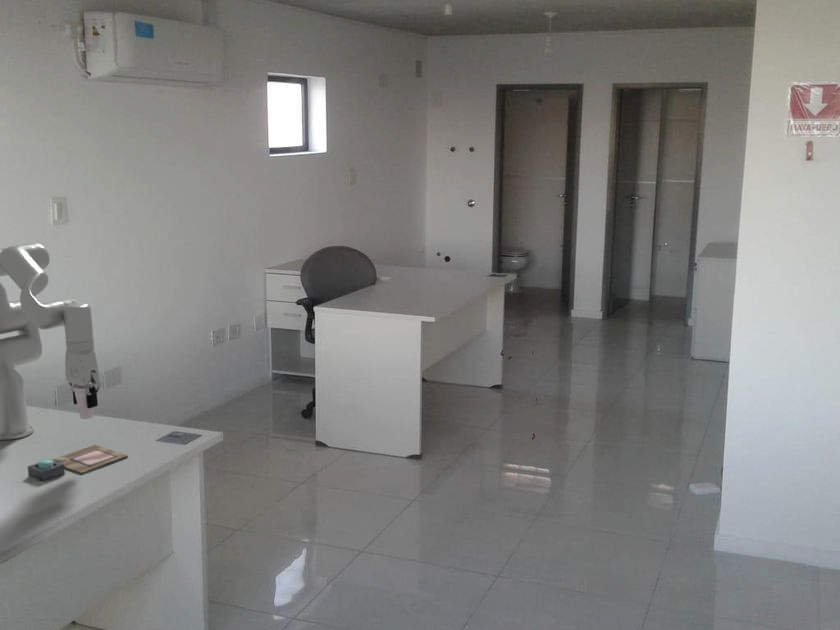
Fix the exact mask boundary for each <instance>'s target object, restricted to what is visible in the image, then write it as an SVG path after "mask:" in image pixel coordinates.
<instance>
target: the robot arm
mask: <svg viewBox="0 0 840 630" xmlns="http://www.w3.org/2000/svg"><path fill="white" fill-rule="evenodd" d="M49 263H50V253H49V252H48V250H47V248H45V247H44V245H42V244H41V243H36V242H32V243H31V242H30V243H25V244H24V243H22V244H18V245H11V246H8V247H4V248H0V277H6V276H9V277H10V279H11V280H12V281H13V282H14V284H16V285H17V287H18V288H19V289H20V290H21V291H20V294H19V295H20V297H19V300H14V301H9V300H8V299H9V298H8V294H7V290H6V288H5V286H4V284H3V283H2V282H0V335H3V334H9V333H13V332H18V334H17V335H12V336H6V337H2V338H0V440H1V441H4V440H5V441H6V440H7V441H8V440H15V439H21V438H24V437H27V436H29V435H31V434H33V433H34V431H35V429H34V428H35V427H34V426H33V425H32V424H29V421H28V413H27V412H28V411H27V404H26V403H27V402H26V395H25V394H26V392H25V384H24V378H23V376H22V375H21V374H20V373H19V372H18V371H17V370H16V369H15V367H18V366H22V365H25V364H30V363H32V362H37V361H38V360H39V359H41V357H42V353H43V346H42V340H41V336H40V330H51V329H55V328H60V327H64V334H65V345H66V350H65V358H64V359H65V360H64V361H65V362H64V365H65V370H64V371H65V380H66V381H67V382H68V384H69V385H70V389H71V391H72V398H73V401H72V402H73V405H77V401H76V396H75V392H74V391H73V386H74V385H79V386H83V387H86V391H87V394H88V395H86V399H87V408H92V407H94V408H95V407H97V406H98V405H99V404H98V393H99V390H100V388H101V387H102V383H101V380H100V379H99V378H100V375H99V367H98V362H97V361H98V360H97V356H96V352H95V343H94V342H95V341H94V333H93V332H94V329H93V320H92V310H91V309H92V308H91V306H90V304H87V303H85V302H79V301H77V300H75V299H74V298H66V299H61V300H54V301H50V302H45V303H40V302H39V301H38V300H37V298H35V297H37V295H39V294H40V293H42V292H43V291H44V290H45V289H46V287H47V286H48V283H49V275H48V274H47V273H46V271H44V270H45V269H46V268H47V267H48V266H49ZM90 383H91V384H90ZM89 386H93V387H92V388H91V390H90V387H89Z"/></svg>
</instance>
